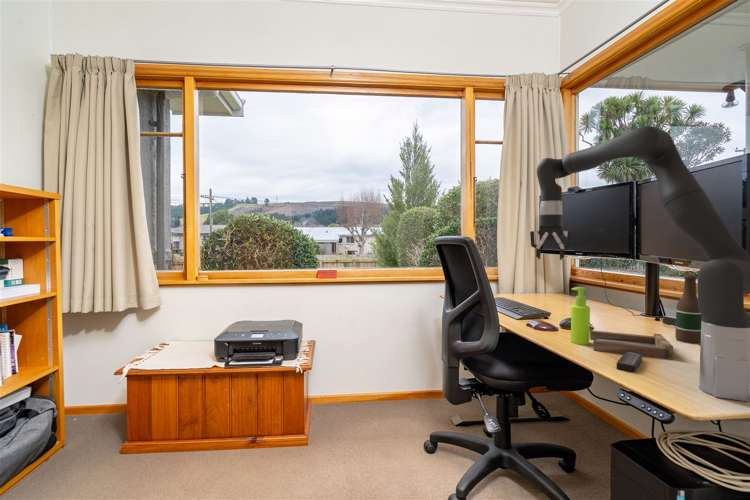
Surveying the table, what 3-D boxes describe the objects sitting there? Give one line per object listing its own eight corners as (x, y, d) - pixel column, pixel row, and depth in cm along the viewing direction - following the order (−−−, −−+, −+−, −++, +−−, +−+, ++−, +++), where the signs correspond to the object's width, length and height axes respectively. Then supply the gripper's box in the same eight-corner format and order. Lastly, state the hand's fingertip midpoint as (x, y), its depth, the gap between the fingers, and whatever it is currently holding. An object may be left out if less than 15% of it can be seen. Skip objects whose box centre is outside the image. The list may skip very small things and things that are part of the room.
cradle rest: (672, 359, 119) (673, 346, 118) (593, 350, 128) (593, 338, 128) (660, 345, 133) (660, 334, 133) (589, 338, 142) (590, 327, 142)
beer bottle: (707, 344, 134) (710, 276, 133) (682, 343, 135) (684, 276, 134) (693, 338, 141) (696, 274, 140) (670, 337, 143) (672, 273, 142)
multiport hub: (616, 370, 110) (616, 362, 110) (625, 358, 121) (625, 350, 121) (634, 374, 107) (634, 366, 107) (642, 361, 118) (642, 353, 118)
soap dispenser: (565, 341, 138) (566, 286, 137) (578, 339, 141) (579, 285, 140) (579, 346, 133) (581, 289, 132) (592, 343, 135) (594, 287, 135)
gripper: (528, 214, 139) (528, 259, 139) (573, 213, 132) (572, 260, 133) (530, 214, 145) (529, 258, 146) (572, 213, 139) (571, 259, 140)
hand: (549, 259), depth 140 cm, fingers open, 6 cm apart
